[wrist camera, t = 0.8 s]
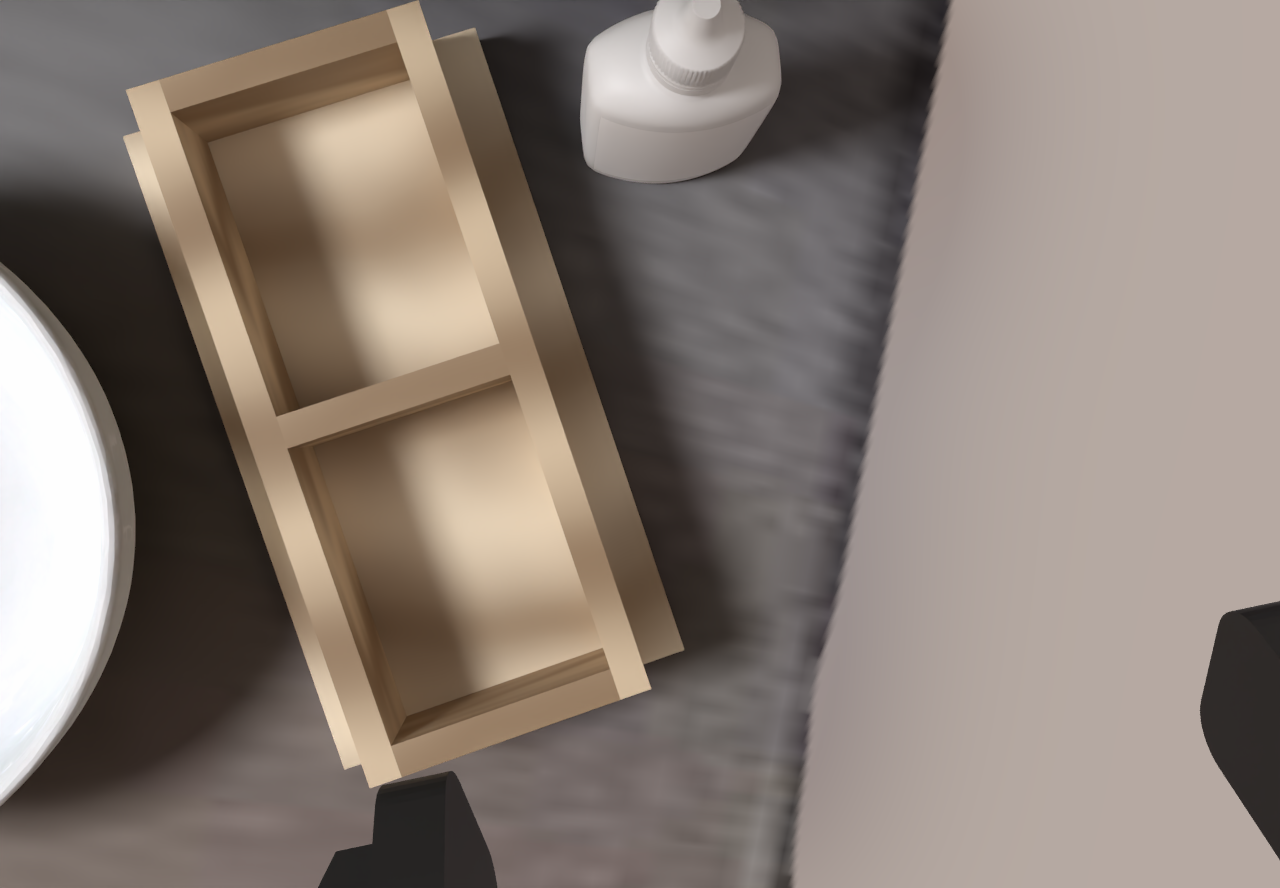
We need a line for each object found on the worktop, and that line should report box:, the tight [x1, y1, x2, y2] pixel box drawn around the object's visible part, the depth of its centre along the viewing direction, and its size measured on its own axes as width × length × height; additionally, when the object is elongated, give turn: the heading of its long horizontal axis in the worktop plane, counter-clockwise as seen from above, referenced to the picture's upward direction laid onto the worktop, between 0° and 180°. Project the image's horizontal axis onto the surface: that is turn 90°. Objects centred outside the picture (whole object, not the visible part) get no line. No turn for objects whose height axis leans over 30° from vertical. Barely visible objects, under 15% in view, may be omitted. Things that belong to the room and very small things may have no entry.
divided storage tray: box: [123, 0, 684, 788], centre depth 36 cm, size 22×12×5 cm, turn 19°
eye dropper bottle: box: [580, 0, 781, 183], centre depth 33 cm, size 4×6×12 cm
